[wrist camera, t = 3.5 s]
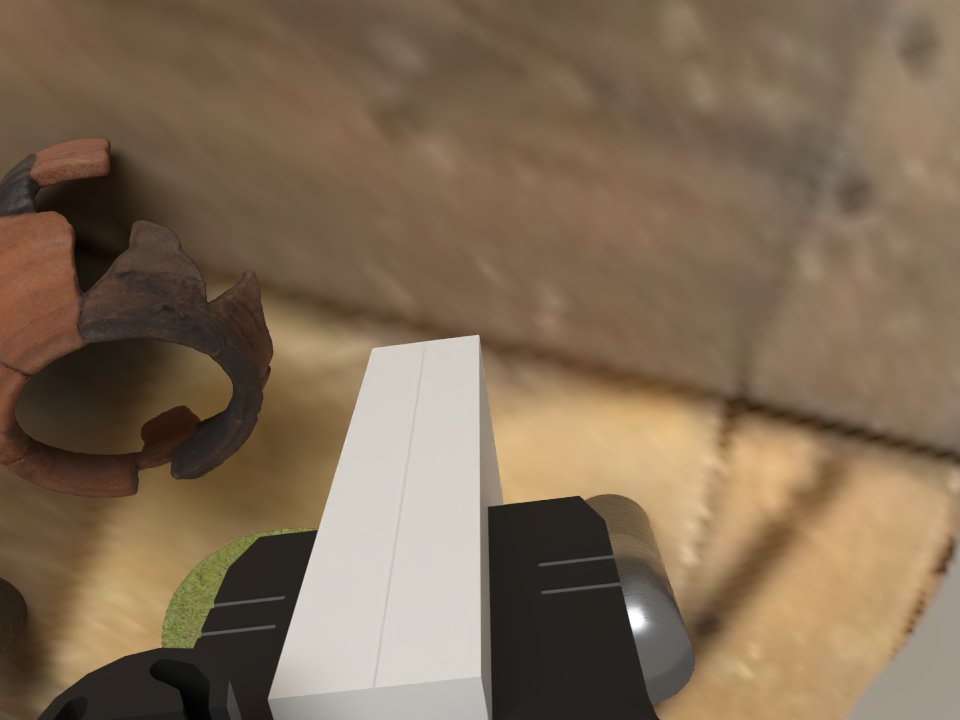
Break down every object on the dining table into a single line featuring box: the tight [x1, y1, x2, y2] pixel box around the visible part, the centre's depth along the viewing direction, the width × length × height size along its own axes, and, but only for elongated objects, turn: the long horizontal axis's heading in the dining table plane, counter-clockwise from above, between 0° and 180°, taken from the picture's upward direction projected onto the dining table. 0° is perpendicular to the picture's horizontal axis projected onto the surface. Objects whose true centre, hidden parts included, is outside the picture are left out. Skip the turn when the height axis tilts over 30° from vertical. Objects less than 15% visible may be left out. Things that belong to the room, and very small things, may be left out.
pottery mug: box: [0, 137, 274, 498], centre depth 26 cm, size 12×9×8 cm
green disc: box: [161, 528, 319, 648], centre depth 33 cm, size 11×11×2 cm
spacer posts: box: [0, 494, 695, 704], centre depth 24 cm, size 27×30×7 cm
